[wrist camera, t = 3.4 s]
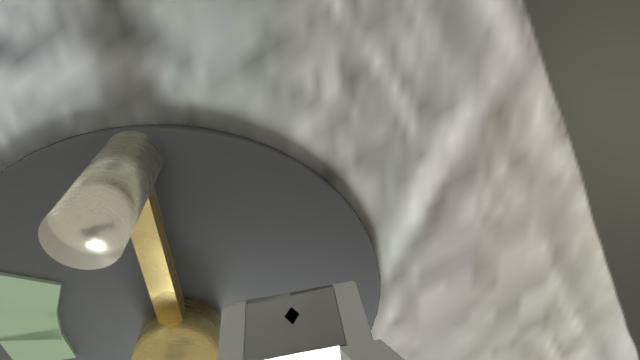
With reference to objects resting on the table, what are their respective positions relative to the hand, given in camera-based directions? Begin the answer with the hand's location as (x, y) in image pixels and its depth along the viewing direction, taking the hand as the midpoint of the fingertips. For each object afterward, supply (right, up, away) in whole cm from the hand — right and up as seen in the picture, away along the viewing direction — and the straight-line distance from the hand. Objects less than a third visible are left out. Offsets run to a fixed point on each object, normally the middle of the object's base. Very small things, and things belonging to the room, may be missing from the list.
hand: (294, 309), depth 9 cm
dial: (-8, -5, +14) cm, 17 cm away
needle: (-8, -1, +11) cm, 13 cm away
